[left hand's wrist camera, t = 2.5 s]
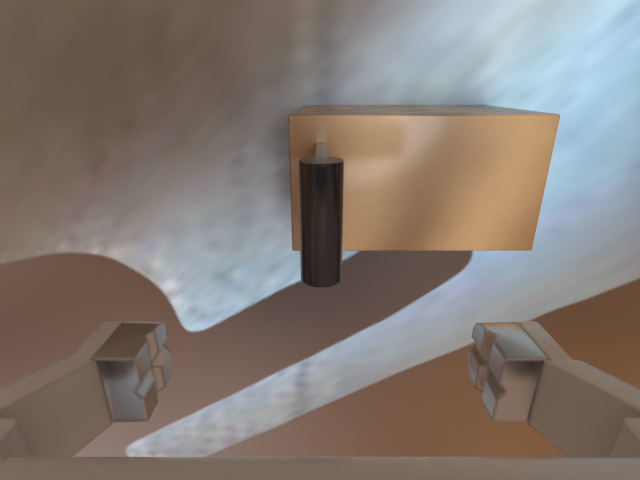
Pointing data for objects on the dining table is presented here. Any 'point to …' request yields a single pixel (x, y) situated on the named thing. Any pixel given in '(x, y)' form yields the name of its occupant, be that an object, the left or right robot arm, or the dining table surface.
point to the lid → (414, 183)
